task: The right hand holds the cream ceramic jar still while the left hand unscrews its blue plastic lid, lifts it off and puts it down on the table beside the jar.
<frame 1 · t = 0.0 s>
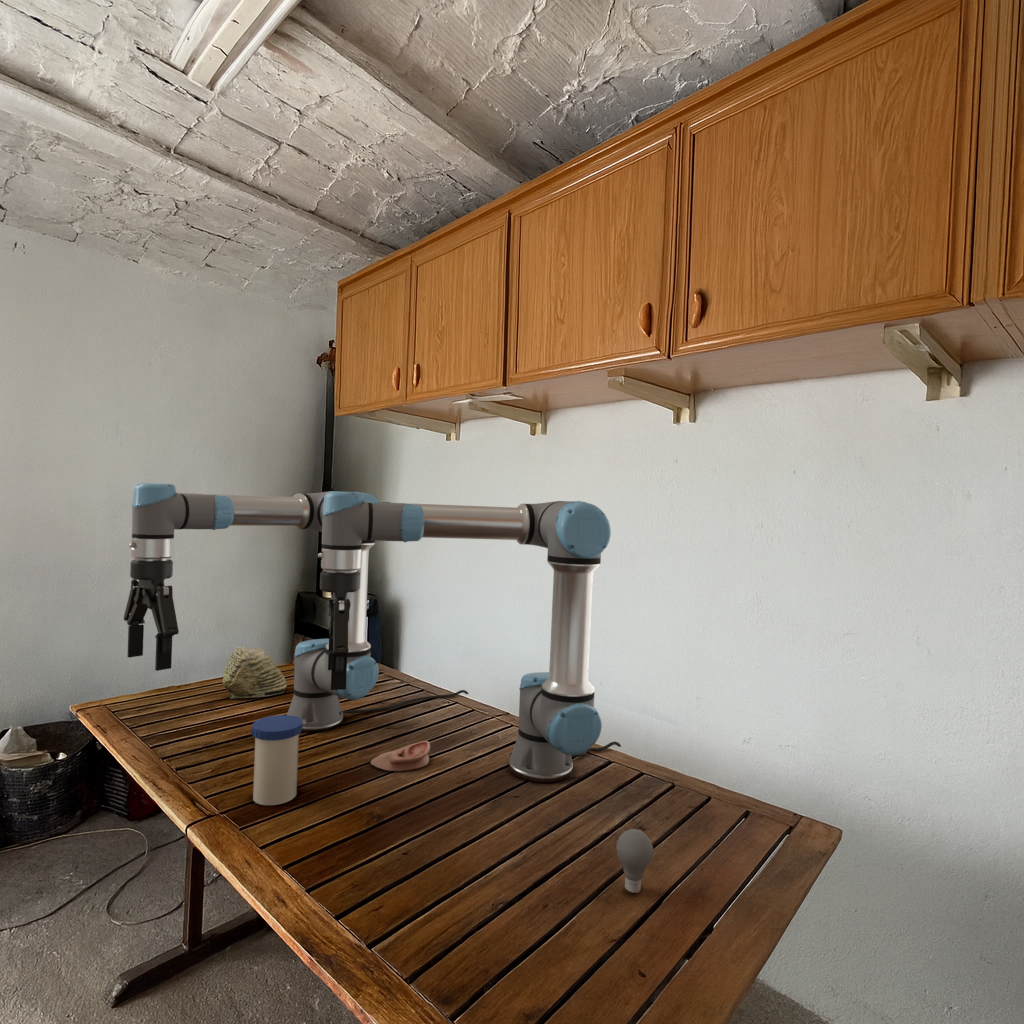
left hand: (148, 662, 129), 28 cm above the table, tool pointing down, fingers open, 13 cm apart
right hand: (336, 679, 124), 28 cm above the table, tool pointing down, fingers open, 13 cm apart
lid: (277, 724, 133), point 15 cm above the table, screwed on, not yet turned
anatomical model: (400, 762, 153), on the table
light bulb: (632, 891, 106), on the table
fossil: (254, 694, 198), on the table
jar: (275, 795, 133), on the table
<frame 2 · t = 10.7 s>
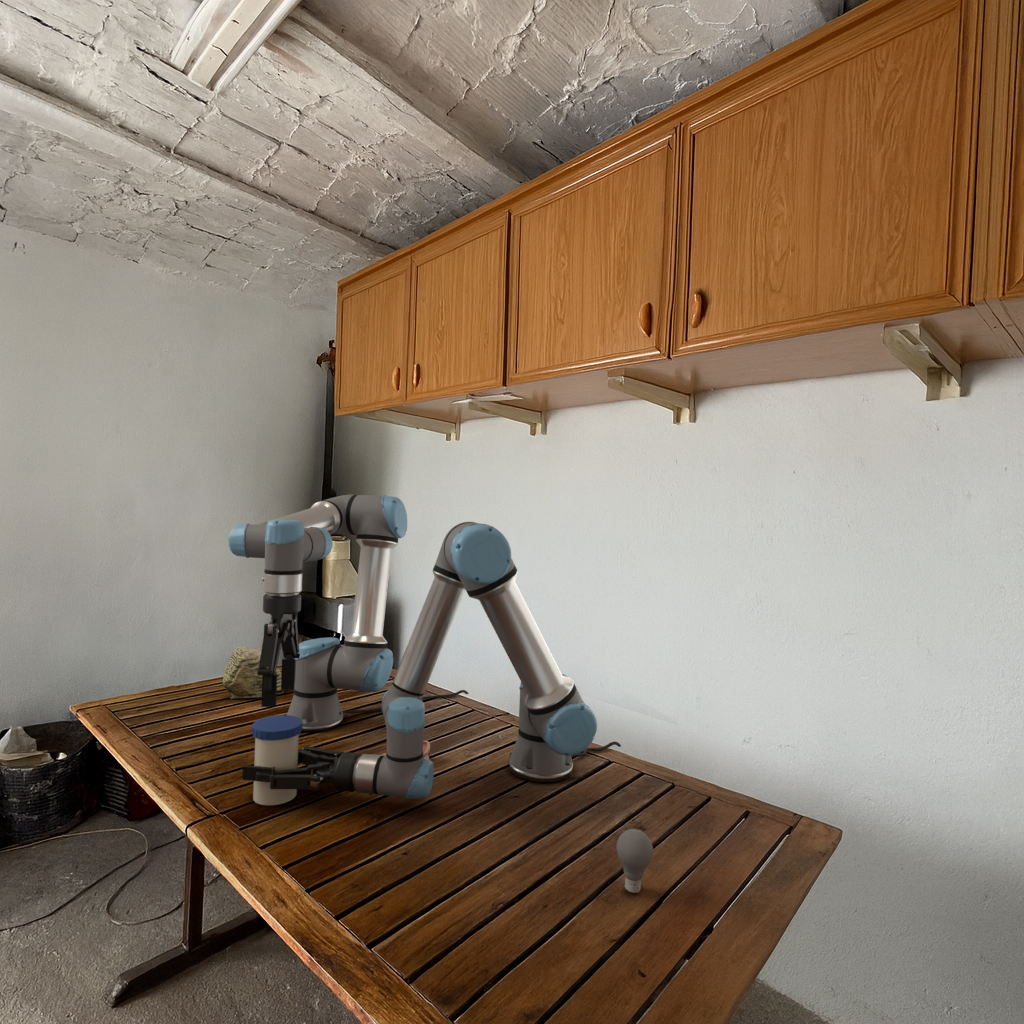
left hand: (278, 697, 133), 21 cm above the table, tool pointing down, fingers open, 11 cm apart
right hand: (255, 762, 134), 7 cm above the table, tool horizontal, fingers closed on jar, 9 cm apart
jar: (275, 795, 133), on the table, touching right hand
everything else where it was.
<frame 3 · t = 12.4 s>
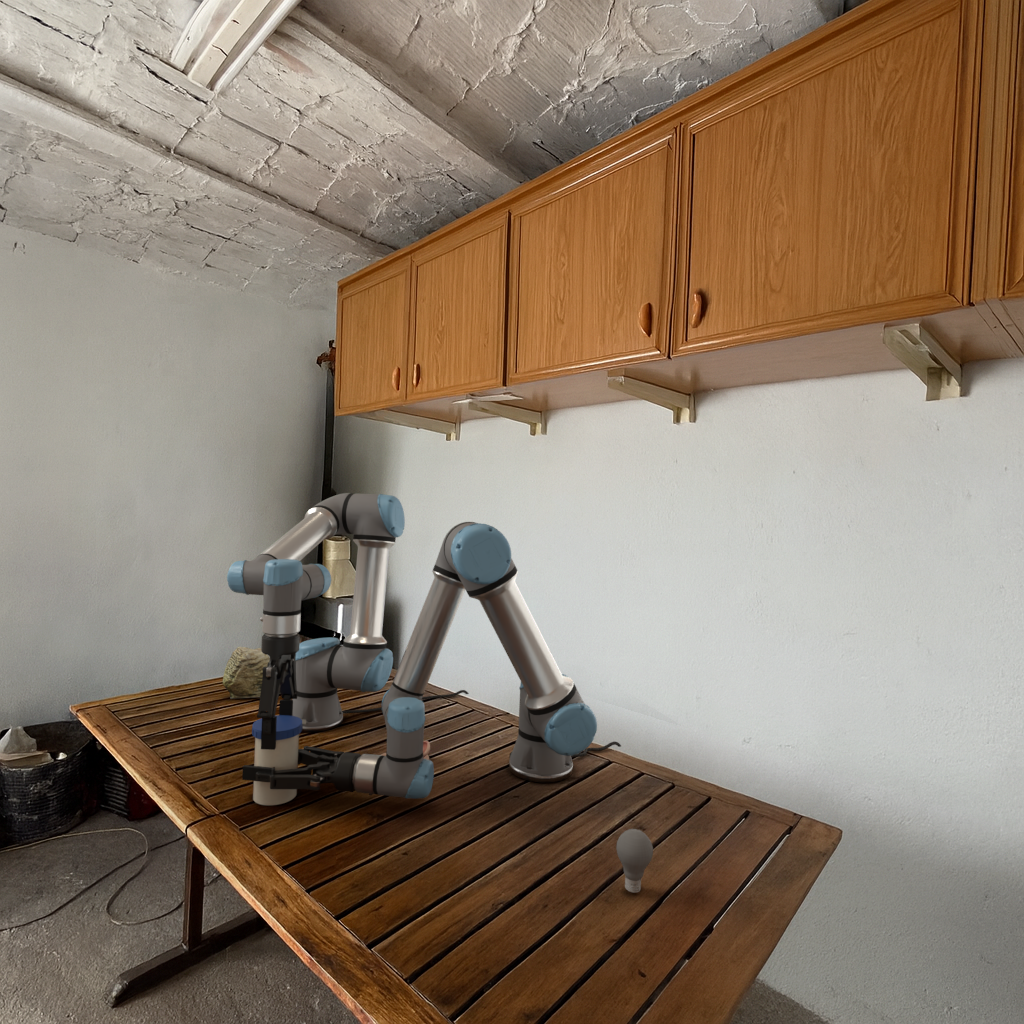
left hand: (277, 738, 133), 12 cm above the table, tool pointing down, fingers closed on lid, 10 cm apart
right hand: (255, 762, 134), 7 cm above the table, tool horizontal, fingers closed on jar, 9 cm apart
lid: (277, 724, 133), point 15 cm above the table, screwed on, not yet turned, touching left hand
jar: (275, 795, 133), on the table, touching right hand
everything else where it was.
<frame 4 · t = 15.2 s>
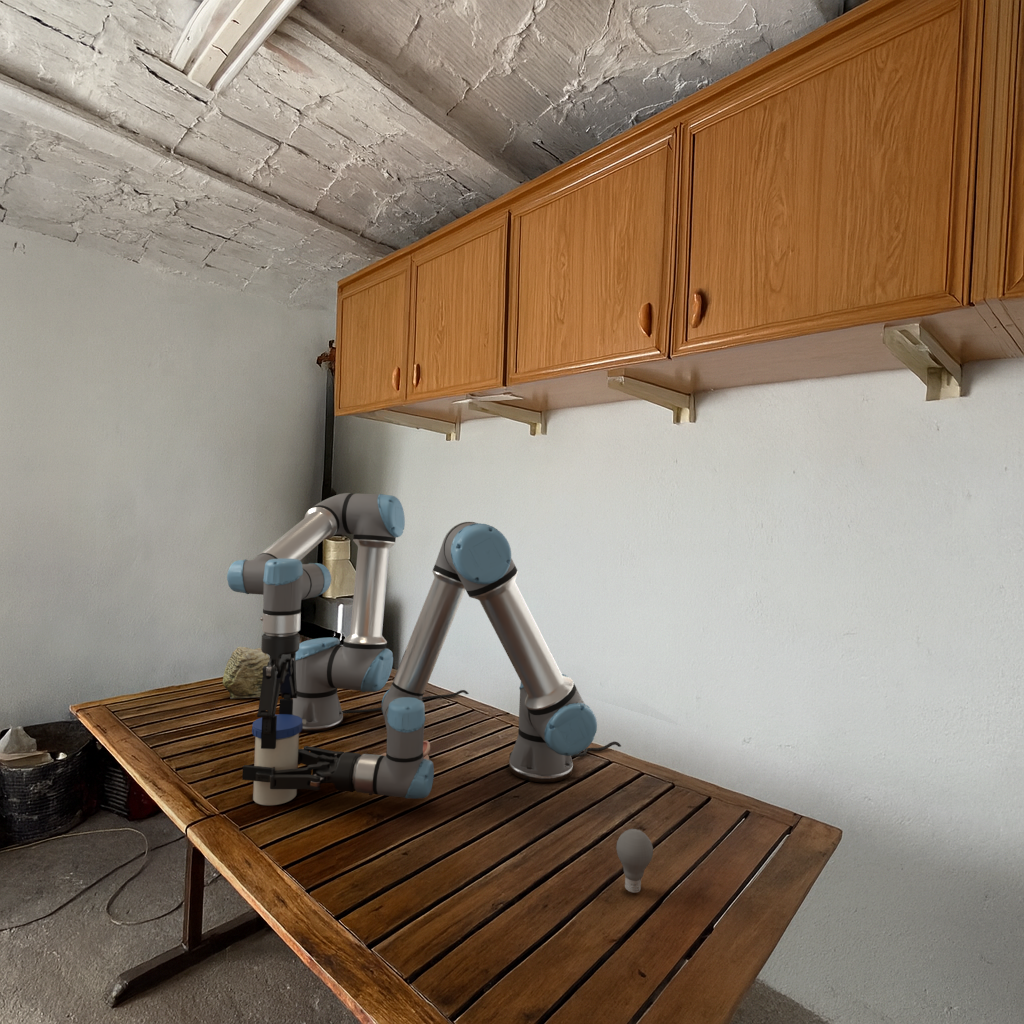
left hand: (277, 738, 133), 12 cm above the table, tool pointing down, fingers closed on lid, 10 cm apart
right hand: (255, 762, 134), 7 cm above the table, tool horizontal, fingers closed on jar, 9 cm apart
lid: (277, 723, 133), point 15 cm above the table, turned 62° so far, risen 0.2 cm, still on its thread, touching left hand
jar: (275, 795, 133), on the table, touching right hand
everything else where it was.
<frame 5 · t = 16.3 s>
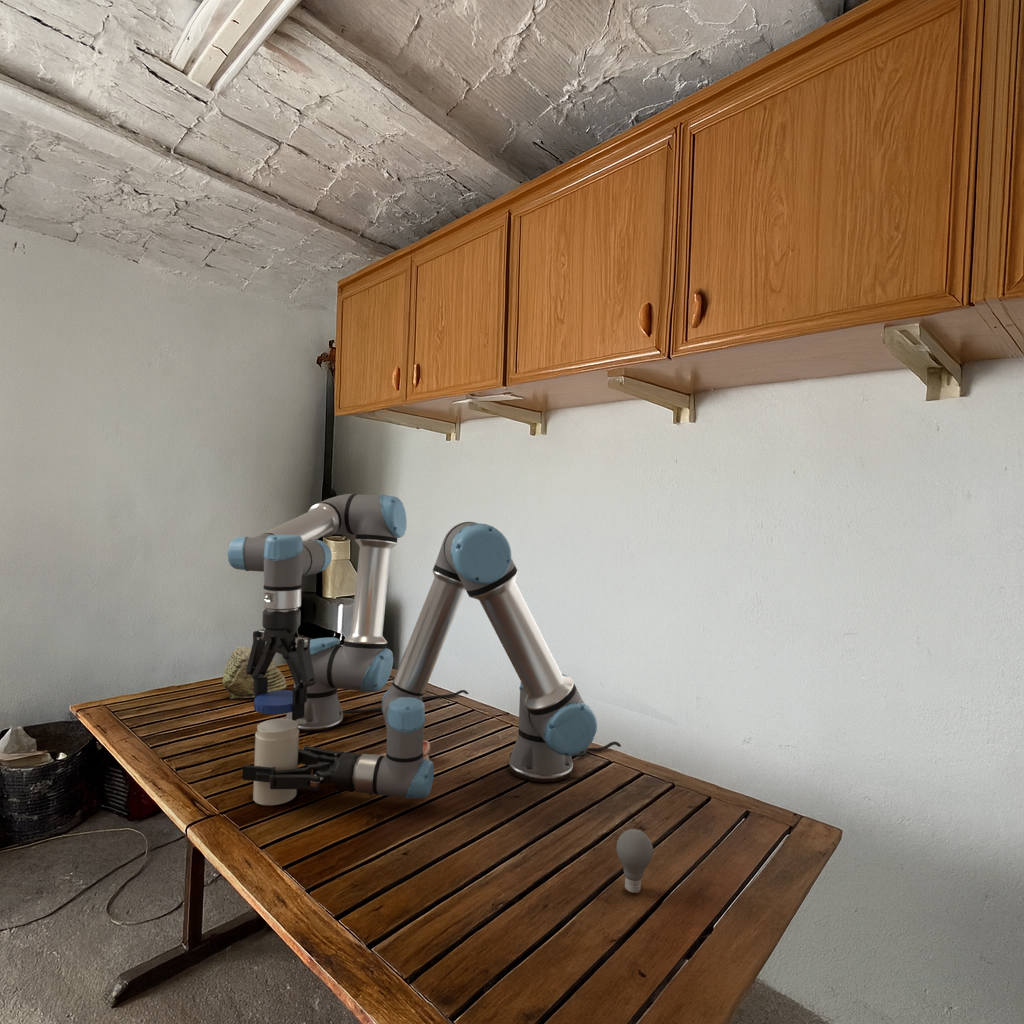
left hand: (279, 713, 134), 17 cm above the table, tool pointing down, fingers closed on lid, 10 cm apart
right hand: (255, 762, 134), 7 cm above the table, tool horizontal, fingers closed on jar, 9 cm apart
lid: (279, 699, 133), point 20 cm above the table, off its thread, touching left hand
jar: (275, 795, 133), on the table, touching right hand
everything else where it was.
when the left hand's fingers open (0 cm above the table, at t = 20.9 s): lid drops 2 cm, point 1 cm above the table.
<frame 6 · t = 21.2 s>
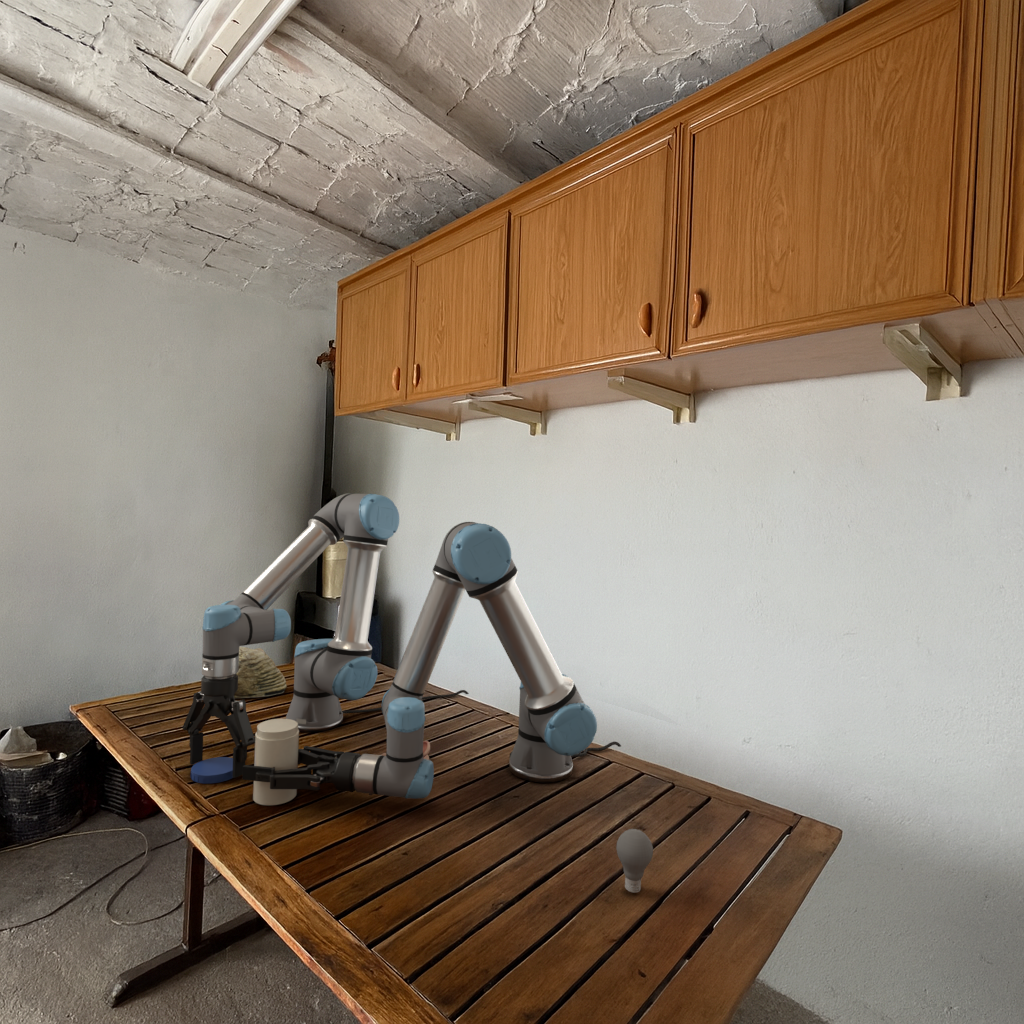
left hand: (216, 768, 143), 1 cm above the table, tool pointing down, fingers open, 13 cm apart
right hand: (255, 762, 134), 7 cm above the table, tool horizontal, fingers closed on jar, 9 cm apart
lid: (215, 767, 142), point 1 cm above the table, off its thread
jar: (275, 795, 133), on the table, touching right hand
everything else where it was.
when the right hand's fingers open (7 cm above the table, at t = 21.9 s): jar stays where it is, on the table.
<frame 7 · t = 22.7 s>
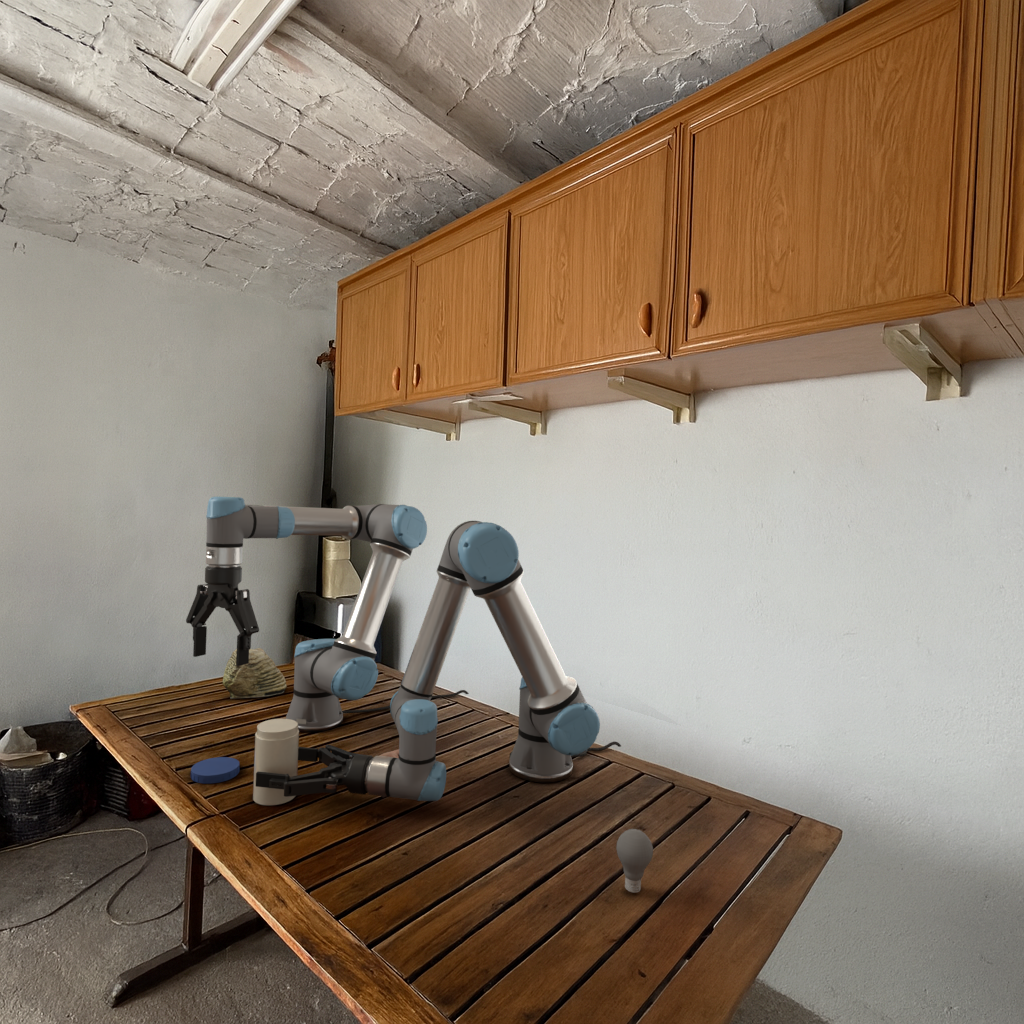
left hand: (220, 660, 142), 26 cm above the table, tool pointing down, fingers open, 13 cm apart
right hand: (273, 765, 133), 6 cm above the table, tool horizontal, fingers open, 13 cm apart
jar: (275, 795, 133), on the table
everything else where it was.
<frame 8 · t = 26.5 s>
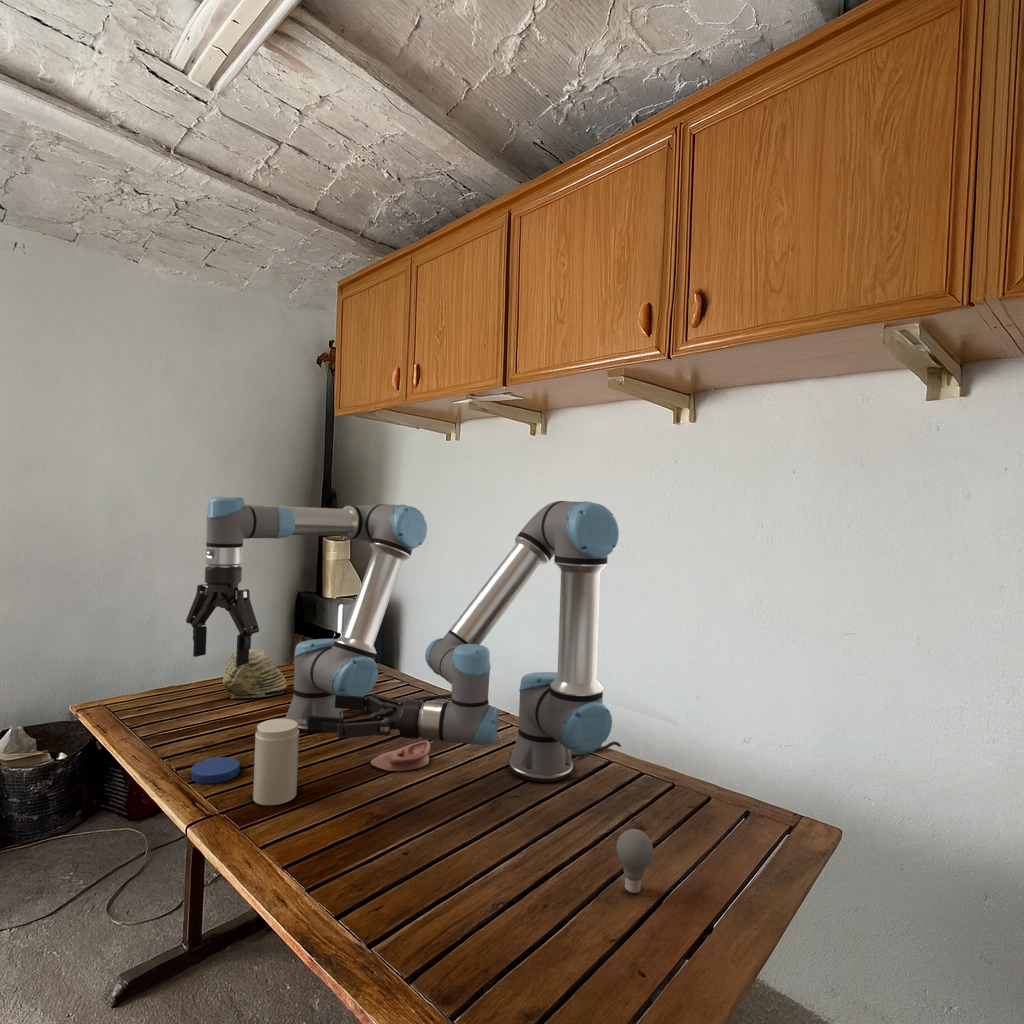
left hand: (220, 660, 142), 26 cm above the table, tool pointing down, fingers open, 13 cm apart
right hand: (322, 711, 132), 19 cm above the table, tool horizontal, fingers open, 13 cm apart
nothing on the table moved.
at the end: lid came off its thread; lid point 1.5 cm above the table; the left hand is holding nothing; the right hand is holding nothing; jar tilted 0°; jar moved 0.0 cm from its start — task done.
